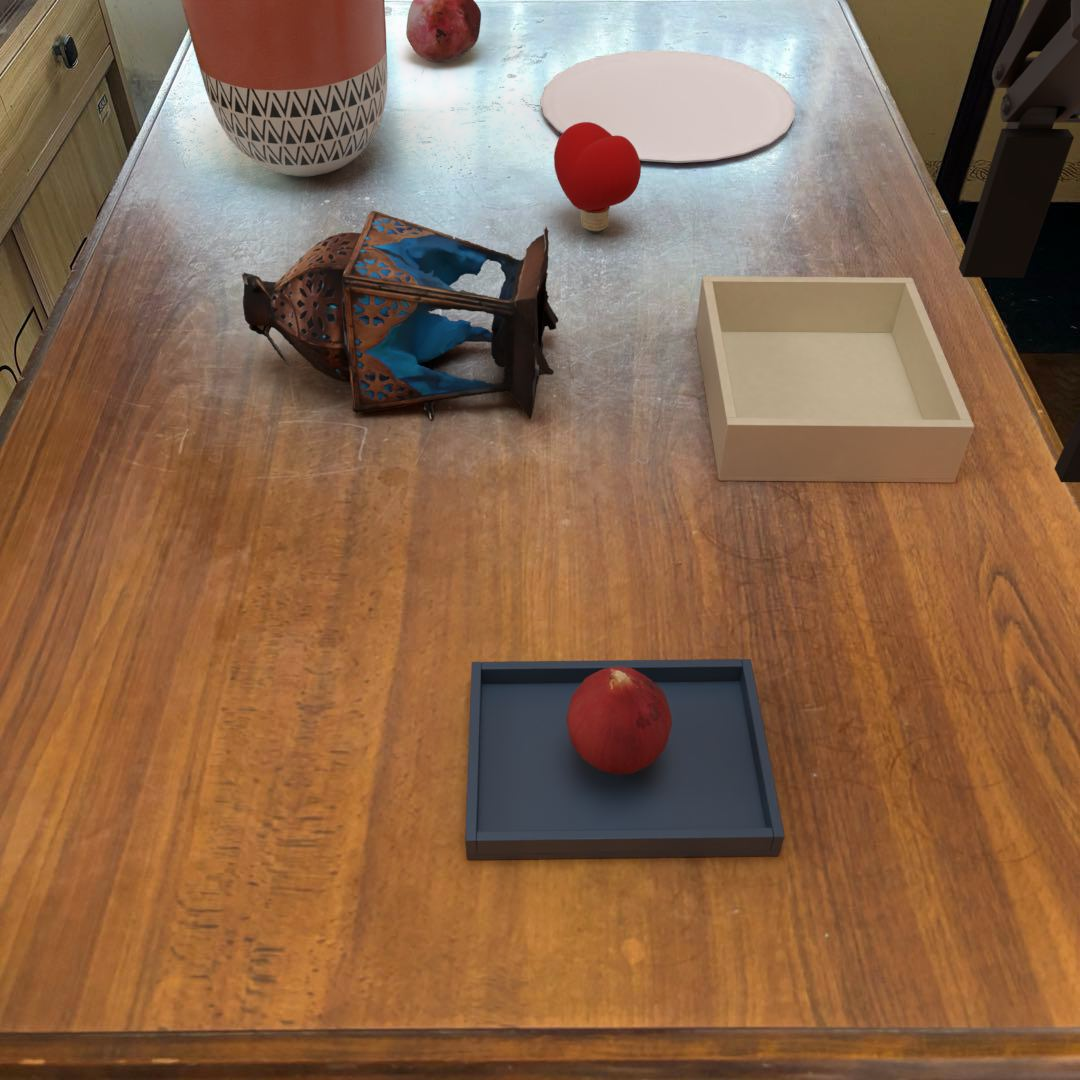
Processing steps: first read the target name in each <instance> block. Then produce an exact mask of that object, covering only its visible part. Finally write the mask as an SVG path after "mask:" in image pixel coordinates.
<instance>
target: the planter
mask: <svg viewBox="0 0 1080 1080" xmlns="http://www.w3.org/2000/svg"><path fill="white" fill-rule="evenodd" d="M180 2H181V6H182V9H183V13H184V16H185V20H186V24H187V28H188V32H189V36H190V39H191V43H192V47H193V51H194V53H195V57H196V60H197V64H198V68H199V72H200V75H201V78H202V82H203V87H204V89H205V93H206V95H207V98H208V101H209V104H210V106H211V108H212V111H213V113H214V115H215V117H216V119H217V121H218V123H219V125H220V126H221V127H220V128H222V130H223V131H224V133H225V135H226V136H227V137H228V139H229V141H231V143H232V144H233V145H234V146H235V147H236V148H237V149H238V150H239V151H240V152H241V153H243V154H244V155H245V156H246V157H248V158H249V159H250V160H252V161H254V162H255V163H256V164H259V165H260V166H261V167H263V168H266V169H268V170H270V171H272V172H276V173H278V174H282V175H285V176H290V177H291V176H293V177H315V176H316V177H317V176H321V175H326V174H328V173H329V174H330V173H332V172H336V171H337V170H339V169H341V168H344V167H345V166H347V165H348V164H350V163H351V162H352V161H353V160H355V159H356V158H358V156H359V155H360V154H361V153H362V152H364V150H365V149H366V148H367V147H368V145H369V144H370V143H371V141H372V140H373V138H374V137H375V135H376V133H377V132H378V130H379V127H380V125H381V122H382V119H383V115H384V113H385V107H386V100H387V92H388V52H387V51H388V49H387V23H386V21H387V20H386V4H385V0H180Z"/></svg>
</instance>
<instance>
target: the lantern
mask: <svg viewBox="0 0 1080 1080" xmlns="http://www.w3.org/2000/svg"><path fill="white" fill-rule="evenodd" d="M542 229H543V234H541V235H539V236H538V237H536V238H535V239H534V240H533V241H531V243H530V244H529V246H528V247H527V248H526V249H525V255H524V257H523V258H522V259H518V258H516V257H513V256H512V255H510V254H508V253H503V252H500V251H497V250H494V249H490V248H488V247H485V246H483V245H481V244H477V243H473V242H471V241H469V240H466V239H462V238H459V237H453V236H452V235H450V234H447V233H444V232H441V231H438V230H435V229H432V228H429V227H427V226H423V225H420V224H417V223H413V222H409V221H407V220H405V219H401V218H399V217H394V216H391V215H388V214H385V213H383V212H380V211H375V210H370V212H369V213H368V214H367V219H366V221H365V223H364V226H363V227H362V231H361V232H352V231H349V232H348V231H347V232H340V233H337V234H334V235H330V236H328V237H326V238H325V239H322V240H321V241H319V242H317V243H316V244H315V245H314V246H313V247H311V248H309V250H308V251H307V252H306V253H305V254H304V255H302V257H300V258H299V259H298V261H296V262H295V263H294V264H293V265H292V267H291V268H289V270H288V271H287V272H286V273H285V274H284V275H283V276H282V277H281V278H280V279H278V280H277V281H267V280H262V279H261V277H260V276H258V275H254V274H252V273H247V272H242V273H241V277H242V281H243V296H242V310H243V316H244V321H245V322H246V324H247V325H248V328H249V330H250V331H253V332H254V333H256V334H258V335H263V336H264V337H266V339H267V340H268V341H269V344H270V345H271V347H272V348H273V350H274V351H275V352H276V353H277V355H278V356H279V357H280V358H281V360H283V362H284V363H285V364H286V366H289V367H290V366H292V362H290V361H288V359H287V358H286V357H285V356H284V354H283V353H282V351H281V349H280V347H279V346H278V344H276V343H275V341H274V339H273V338H272V337H271V335H270V331H271V328H273V329H275V330H276V331H277V332H278V333H279V334H280V335H281V336H282V337H283V339H284V340H286V341H287V342H288V344H289V345H291V346H292V347H293V348H294V349H295V350H296V351H297V352H298V353H299V355H301V356H302V357H303V358H304V360H306V361H307V362H308V363H309V364H310V365H311V366H312V367H313V368H314V369H316V370H317V371H319V372H320V373H322V374H323V375H325V376H327V377H329V378H331V379H333V380H335V381H339V382H341V383H350V388H351V389H350V390H351V408H352V412H353V413H354V414H363V413H369V412H374V411H382V410H389V409H398V408H404V407H406V406H409V405H418V404H421V403H422V404H424V406H423V410H424V411H427V415H428V419H429V420H430V421H433V420H434V416H435V411H434V408H433V405H434V404H435V403H439V402H441V401H447V400H455V399H458V398H464V397H472V396H473V397H474V396H480V395H484V394H496V393H508V394H510V395H511V397H512V398H513V399H514V400H515V401H516V402H517V403H518V404H519V406H521V408H522V410H523V412H524V413H525V414H526V416H527V417H528V419H529V420H531V419H532V417H533V413H534V407H535V400H536V394H537V388H538V387H537V386H538V382H539V380H540V376H544V375H549V376H554V374H555V371H554V370H553V368H551V367H550V365H549V363H548V360H547V359H546V357H545V355H544V352H543V351H544V341H543V336H544V332H545V329H546V327H548V330H549V331H553V330H556V329H557V323H558V322H559V318H558V316H557V315H556V313H555V311H554V310H553V308H552V306H551V305H550V303H549V301H548V300H549V297H550V296H549V295H548V291H547V281H548V275H549V272H548V268H549V245H550V242H549V229H548V226H546V225H544V226H542ZM486 261H490V262H495V263H498V264H499V265H500V270H501V272H502V273H503V274H504V277H505V278H504V279H505V280H504V281H503V284H502V286H501V287H500V288H501V289H500V292H499V296H498V297H493V296H488V295H484V294H477V293H476V292H472V291H466V290H464V289H461V290H456V289H455V288H453V287H451V286H452V285H453V284H454V283H457V282H458V281H459V279H460V278H461V277H462V276H464V275H475V276H478V274H480V272H481V271H482V267H483V265H485V263H486ZM436 310H440V311H451V310H456V311H468V312H473V313H474V312H483V313H486V314H488V315H489V314H490V315H493V319H492V323H491V326H490V327H491V329H490V330H491V331H490V330H489V329H488V328H486V327H483V326H476V325H475V326H474V325H471V324H472V322H471V321H468V320H464V319H461V318H460V319H458V320H450V319H449V318H448V317H447V316H445V315H441V314H440V313H432V312H434V311H436ZM466 342H467V343H469V342H470V343H490V353H491V357H492V359H493V360H494V364H495V365H496V366H498V367H499V368H503V378H502V382H498V383H493V382H486V381H485V380H480V379H479V380H478V379H476V378H474V379H468V378H463V377H458V376H456V375H451V374H449V373H447V372H445V371H444V370H442V371H441V370H440V371H435V370H432V369H430V367H426V366H423V365H421V364H422V363H425V362H429V361H431V360H433V359H436V358H438V357H440V356H442V355H444V354H445V353H447V352H449V351H450V350H453V349H454V348H455V347H457V346H459V345H460V346H461V345H462V344H464V343H466Z"/></svg>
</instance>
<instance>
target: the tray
mask: <svg viewBox="0 0 1080 1080" xmlns="http://www.w3.org/2000/svg"><path fill="white" fill-rule="evenodd" d="M616 666H618V667H628V668H632V669H634V670H636V671H638V672H640V673H642V674H643V675H645V676H646V677H648V678H649V679H651V680H652V681H653V682H654V683H655V684H656V685H658V686H659V687H660V688H661V689H662V690H663V692H664V694H665V696H666V699H667V702H668V706H669V709H670V713H671V718H672V726H671V730H670V734H669V738H668V742H667V744H666V746H665V749H664V751H663V752H662V753H661V754H660V755H659V756H658V757H657V758H656V760H655V761H654V762H653V763H652V764H650V765H648V766H647V767H645V768H643V769H641V770H638V771H636V772H634V773H632V774H619V775H615V774H612V773H608V772H604V771H601V770H599V769H597V768H596V767H594V766H593V765H591V764H590V763H588V762H587V761H585V760H584V759H582V758H581V756H580V755H579V753H578V752H577V750H576V749H575V748H574V746H573V745H572V743H571V740H570V735H569V731H568V727H567V719H566V718H567V714H568V709H569V705H570V701H571V698H572V695H573V694H574V693H575V691H576V690H577V689H578V687H579V686H580V685H581V683H582V682H583V681H584V679H585V678H587V677H588V676H590V675H592V674H594V673H596V672H598V671H600V670H602V669H606V668H611V667H616ZM470 668H471V669H470V695H469V721H468V722H469V724H468V748H467V749H468V750H467V751H468V752H467V778H466V779H467V780H466V804H465V805H466V806H465V807H466V808H465V833H464V843H465V853H466V860H467V861H481V860H483V861H484V860H485V861H486V860H556V859H557V860H559V859H560V860H561V859H564V860H565V859H567V860H569V859H638V858H639V859H640V858H643V859H645V858H646V859H647V858H715V857H719V858H720V857H724V858H726V857H778V856H780V853H781V849H782V846H783V844H784V840H785V837H786V836H785V830H784V825H783V820H782V814H781V810H780V803H779V799H778V794H777V793H778V792H777V788H776V783H775V777H774V772H773V767H772V762H771V757H770V751H769V746H768V741H767V737H766V730H765V725H764V719H763V716H762V715H763V714H762V711H761V710H762V709H761V704H760V701H759V694H758V689H757V684H756V677H755V673H754V672H755V671H754V669H753V662H752V659H751V658H742V659H741V658H715V659H714V658H712V659H710V658H709V659H705V658H703V659H621V660H619V659H611V660H605V659H604V660H603V659H602V660H523V661H522V660H521V661H519V660H518V661H517V660H516V661H515V660H513V661H510V660H509V661H471V666H470Z"/></svg>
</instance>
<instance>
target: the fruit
mask: <svg viewBox="0 0 1080 1080" xmlns="http://www.w3.org/2000/svg"><path fill="white" fill-rule="evenodd" d="M481 23H482V12H481V9H480V7H479V5H478V3H476V1H475V0H412V2H411V4H410V6H409V8H408V13H407V19H406V31H405V35H406V38H407V41H408V42H409V45H410V46H411V48H412V50H413V51H414V52H415V53H416V55H418V56H419V57H420V58H423V59H425V60H429V61H433V62H438V63H443V62H451V61H454V60H456V59H457V58H459V57H461V56H462V55H463V54H465V53H468V52H469V50H471V49H472V48H473V47H475V45H476V43H477V42H478V40H479V38H480V37H479V36H480V31H481Z"/></svg>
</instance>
